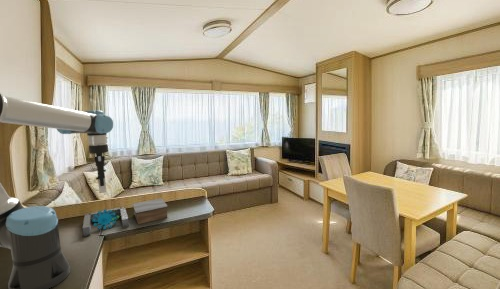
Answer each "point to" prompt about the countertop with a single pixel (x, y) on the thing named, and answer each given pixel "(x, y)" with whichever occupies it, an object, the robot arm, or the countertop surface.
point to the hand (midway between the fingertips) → (102, 188)
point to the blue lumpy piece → (105, 219)
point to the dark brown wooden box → (150, 210)
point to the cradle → (89, 217)
